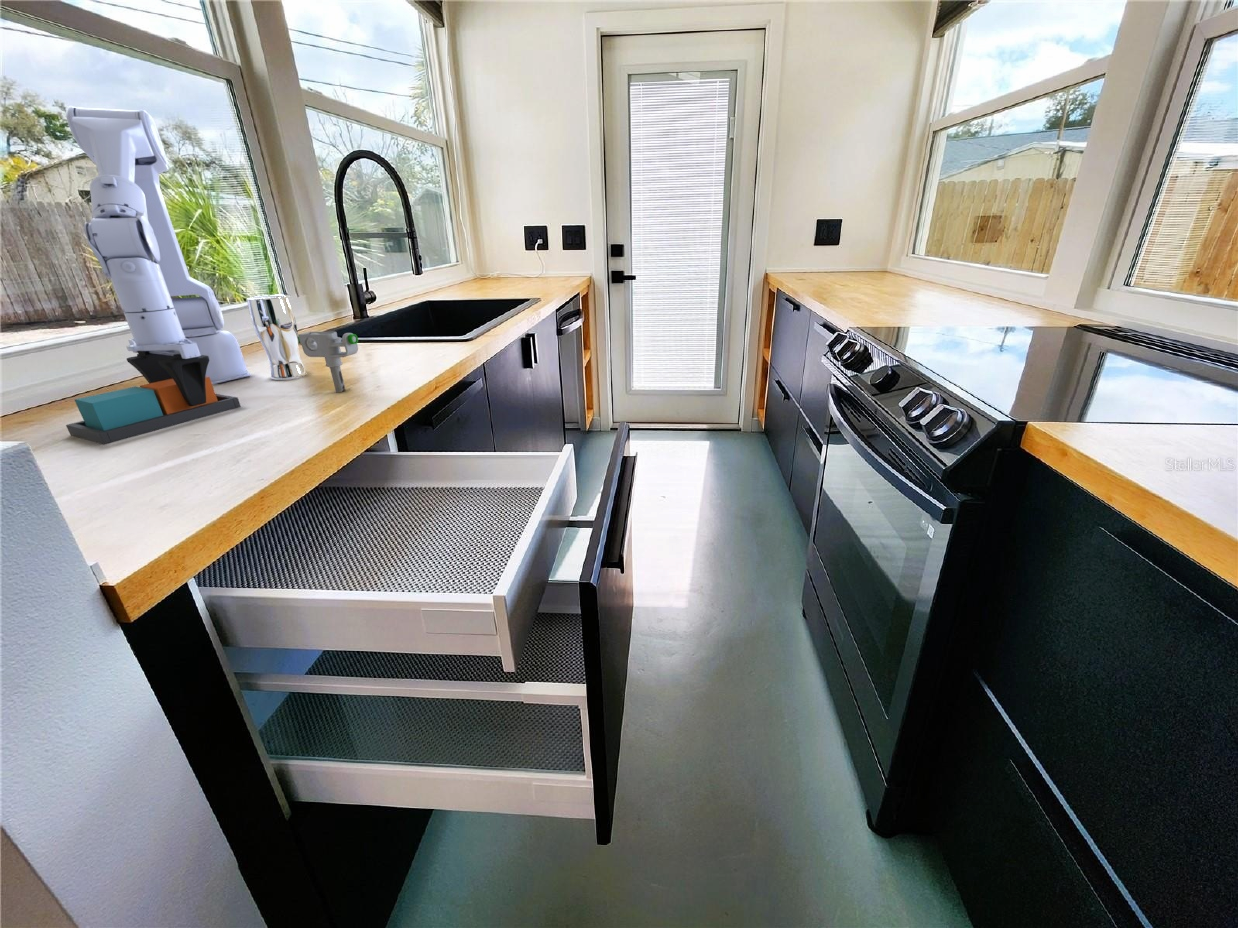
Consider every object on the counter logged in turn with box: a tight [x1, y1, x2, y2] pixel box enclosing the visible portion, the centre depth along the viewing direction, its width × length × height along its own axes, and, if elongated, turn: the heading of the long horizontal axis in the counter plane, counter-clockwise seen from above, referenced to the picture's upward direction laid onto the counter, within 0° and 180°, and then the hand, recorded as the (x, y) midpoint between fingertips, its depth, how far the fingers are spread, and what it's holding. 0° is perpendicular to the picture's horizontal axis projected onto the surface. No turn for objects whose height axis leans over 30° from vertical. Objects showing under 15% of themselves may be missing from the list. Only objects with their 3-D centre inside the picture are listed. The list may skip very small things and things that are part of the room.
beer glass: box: [246, 294, 308, 381], centre depth 101 cm, size 7×7×15 cm
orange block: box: [139, 377, 218, 415], centre depth 81 cm, size 7×5×5 cm
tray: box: [65, 393, 241, 446], centre depth 79 cm, size 18×10×2 cm, turn 153°
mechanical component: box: [298, 331, 359, 394], centre depth 91 cm, size 3×10×10 cm, turn 78°
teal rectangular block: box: [74, 386, 163, 431], centre depth 75 cm, size 7×5×5 cm
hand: (183, 401), depth 82 cm, fingers open, 7 cm apart
